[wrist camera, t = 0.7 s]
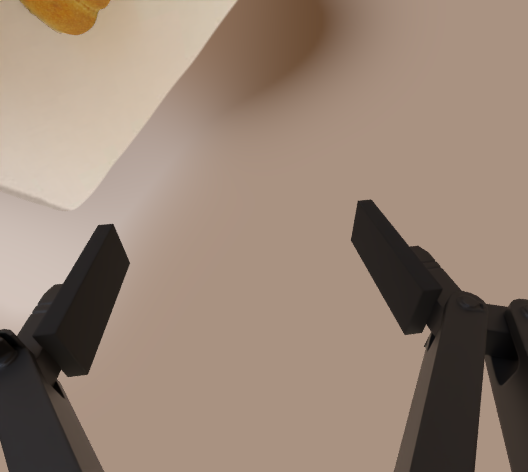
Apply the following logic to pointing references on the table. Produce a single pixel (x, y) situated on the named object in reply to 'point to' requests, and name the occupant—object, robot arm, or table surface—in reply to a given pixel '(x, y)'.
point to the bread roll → (66, 13)
